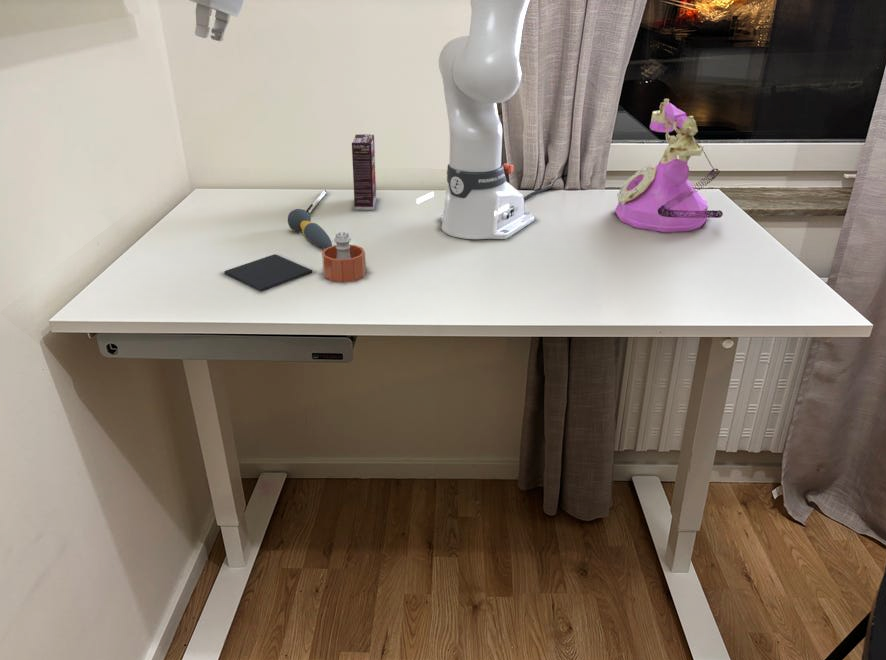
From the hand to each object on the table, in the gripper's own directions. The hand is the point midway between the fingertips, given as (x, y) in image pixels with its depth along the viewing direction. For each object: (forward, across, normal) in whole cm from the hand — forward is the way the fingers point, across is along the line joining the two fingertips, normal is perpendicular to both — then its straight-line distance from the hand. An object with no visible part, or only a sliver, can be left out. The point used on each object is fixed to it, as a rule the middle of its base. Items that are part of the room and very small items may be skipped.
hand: (208, 38), depth 124 cm
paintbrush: (+34, +26, -22) cm, 48 cm away
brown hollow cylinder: (+34, +6, -31) cm, 47 cm away
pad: (+38, +7, -17) cm, 42 cm away
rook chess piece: (+34, +6, -31) cm, 47 cm away
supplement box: (+27, +48, -31) cm, 63 cm away
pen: (+30, +48, -19) cm, 60 cm away
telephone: (+9, +32, -98) cm, 103 cm away
